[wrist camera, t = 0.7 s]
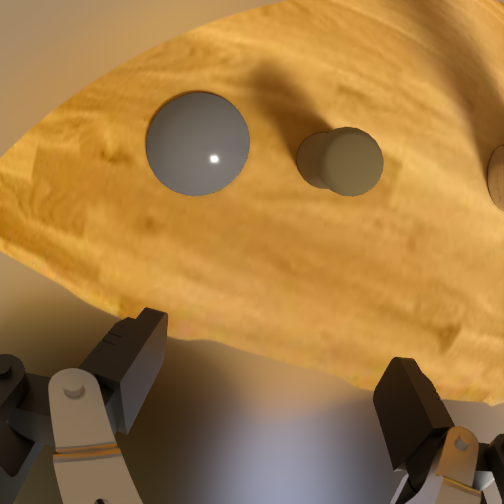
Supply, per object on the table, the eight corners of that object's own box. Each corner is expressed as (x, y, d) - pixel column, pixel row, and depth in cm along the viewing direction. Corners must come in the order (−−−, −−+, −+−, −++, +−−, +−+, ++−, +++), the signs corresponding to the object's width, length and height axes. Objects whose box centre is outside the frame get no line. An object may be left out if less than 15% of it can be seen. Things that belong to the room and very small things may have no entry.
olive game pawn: (293, 134, 28) (307, 120, 18) (349, 130, 28) (390, 118, 17) (299, 191, 30) (317, 208, 20) (355, 187, 30) (397, 202, 19)
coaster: (229, 79, 27) (228, 77, 26) (264, 174, 30) (264, 174, 29) (136, 119, 28) (133, 118, 28) (168, 209, 31) (166, 210, 31)
